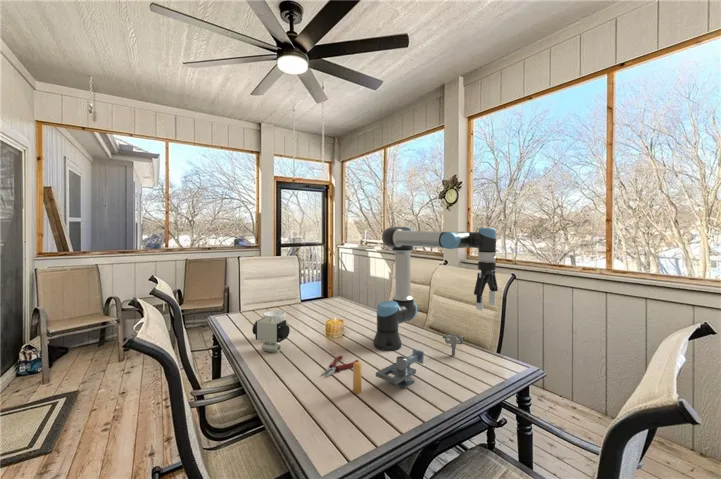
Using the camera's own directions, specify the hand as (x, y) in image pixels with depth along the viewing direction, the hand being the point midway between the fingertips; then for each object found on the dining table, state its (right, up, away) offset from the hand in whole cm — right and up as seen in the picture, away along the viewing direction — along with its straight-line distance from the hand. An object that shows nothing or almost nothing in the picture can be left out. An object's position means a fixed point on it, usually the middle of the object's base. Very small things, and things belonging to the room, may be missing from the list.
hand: (485, 307), depth 143 cm
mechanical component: (-11, -27, +13) cm, 32 cm away
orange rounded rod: (-59, -28, -23) cm, 69 cm away
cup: (-107, -26, +34) cm, 115 cm away
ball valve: (-104, -27, +17) cm, 109 cm away
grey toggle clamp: (-40, -28, -14) cm, 51 cm away
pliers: (-69, -28, -1) cm, 74 cm away
